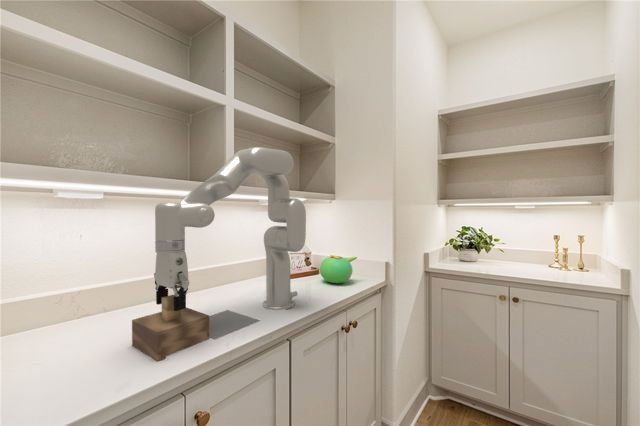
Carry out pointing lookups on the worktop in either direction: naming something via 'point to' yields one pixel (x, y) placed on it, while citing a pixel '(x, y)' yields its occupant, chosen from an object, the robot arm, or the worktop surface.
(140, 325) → the square lid with knob
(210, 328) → the rubber mat
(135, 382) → the worktop surface
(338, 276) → the green rounded piece
